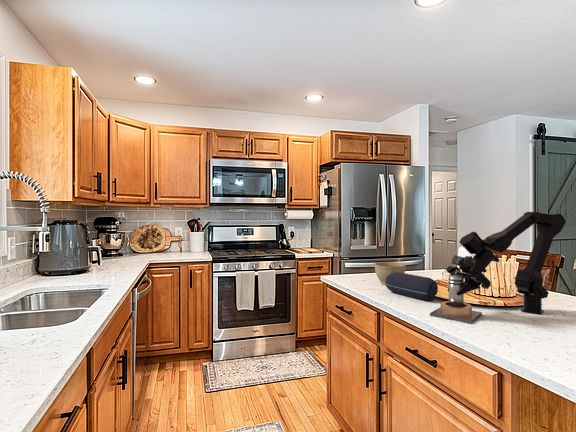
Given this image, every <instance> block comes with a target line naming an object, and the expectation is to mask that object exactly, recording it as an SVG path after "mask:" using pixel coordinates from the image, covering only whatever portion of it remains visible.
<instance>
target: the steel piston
mask: <svg viewBox="0 0 576 432" xmlns="http://www.w3.org/2000/svg"><path fill="white" fill-rule="evenodd" d="M447 280H448V283H447V284H448V288H449V292H448V301H449V306H452V307H464V303H465V299H464V297H465V293H464V294H462V295H459V296H458V295H457V294H456V293H457V291H458V290H459V289H460V287H461V286H462V284H463V283H464V281H465V278H464V276H462V275H450V274H449V275H448V279H447Z"/></svg>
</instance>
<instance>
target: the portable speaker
mask: <svg viewBox="0 0 576 432" xmlns="http://www.w3.org/2000/svg"><path fill="white" fill-rule="evenodd" d="M385 283H386V285H385V286H386V289H388V290H389V291H390V292H391V293H394V294H398V295H402V296H406V297H409V298H415V299H419V300H423V301H433V300H435V298H436V297H435V295H436V294H438V292H439V291H438V290H439V286H438V283H437V282H436V281H435V280H434V279H432V278H430V277H426V276H420V275H416V274H411V273H410V274H409V273H406V272H405V273H400V272H394V273H391V274H389V275H388V276H387V277H386V281H385ZM436 296H437V295H436Z"/></svg>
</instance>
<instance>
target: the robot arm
mask: <svg viewBox="0 0 576 432" xmlns="http://www.w3.org/2000/svg"><path fill="white" fill-rule="evenodd" d="M533 225H536V230H537V233H538V234H537V236H536V240H535V241H534V245H533V246H532V250H531V252H530V256H529V258H528V261H527V263H526V266H525V267H524V268H523V269H517V271H516V274H515V277H514V278H513V279H514V285H515V287H516V289H517V292H518V294H522V295H523V307H522V309H520V311H521V312H522V313H523V312H524V313H528V314H529V313H531V314H537V315H543V313H544V311H545V310H544V309H543V307H542V305H543V302H542V301H543V299H547V298H548V296H549V291H548V290H547V289H546V288H545V287H544V286H543V281H544V279H543V276H542V270H543V267H544V265H545V262H546V258H547V256H548V254H549V251H550V250H551V249H550V248H551V246H552V243H553V240H554V238H555V237H556V236H557V235H558V234H561V232H562V230H563V229H564V227H565V225H566V219H565V217H564V215H563V214H561V213H544V212H539V211H526V212H524V213H523V214H522V216H520V217H519V218H517V219H516V220H515V221H513V222H512V223H511V224H509V225H508V226H507V227H506V228H504V229H503V230H500V231H498V232H495V233H492V234H491V235H490V234H489V235H488V236H487V237H485V238H484V239H482V238H481V237H480V236H479V234H478V233H477V231H471V232H469V233H467V234H466V235H464V236H462V237H461V238H460V240H459V244H461V246H462V247H463V248H464V249H465V250H466V252H468V253H469V254H470V255H473V256H472V257H471V256H467V255H465V256H459V255H453V258H452V259H451V262H450V263H451V264H452V265H449V266H447V268H446V269H445V271H446V272H447V273H448V274H449V275H462V276H464V283H463V284H462V286H461V287H460V289H459V290H458V291H457V293H456V294H457V295H458V296H459V295H462V294H464V295H465V294H467V293H469V292H472V291H475V290H478V289H479V290H480V289H481V288H482V289H485V290H488V289H489V288H490V287H491V285H492V281H491V280H490V279H489V278H488V277H487V276H486V275H485V273H487V272H488V270H487V267H488V266H490V264H491V263H492V262H494V263H495V262H496V263H500V260H499V255H498V254H495V253H494V252H497V253H504V252H506V251H507V250H508V249H509V247H511V245H512V243H513V241H514V239H515V238H517V237H518V236H520V235H521V234H523V233H524V232H525V231H526V230H528V229H529V228H530V227H532V226H533ZM453 265H456V266H453ZM457 266H458V267H457ZM447 292H448V293H449V287H448V288H447Z"/></svg>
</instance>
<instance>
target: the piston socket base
mask: <svg viewBox="0 0 576 432" xmlns="http://www.w3.org/2000/svg"><path fill="white" fill-rule="evenodd" d="M429 316H430V317H434V318H439V319H445V320H449V321H454V320H455V322H459V321H460V323H464V324H472V323H474V322H475V321H477V320H478V319H479V318H480V317H481V316H483V312H482V311H477V310H473V305H471V304H470V303H466V302H464V307H452V306H449V300H447V301H442V302H440V306H439V307H438V308H436V309H434V310H433V311H431V312H429Z"/></svg>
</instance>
